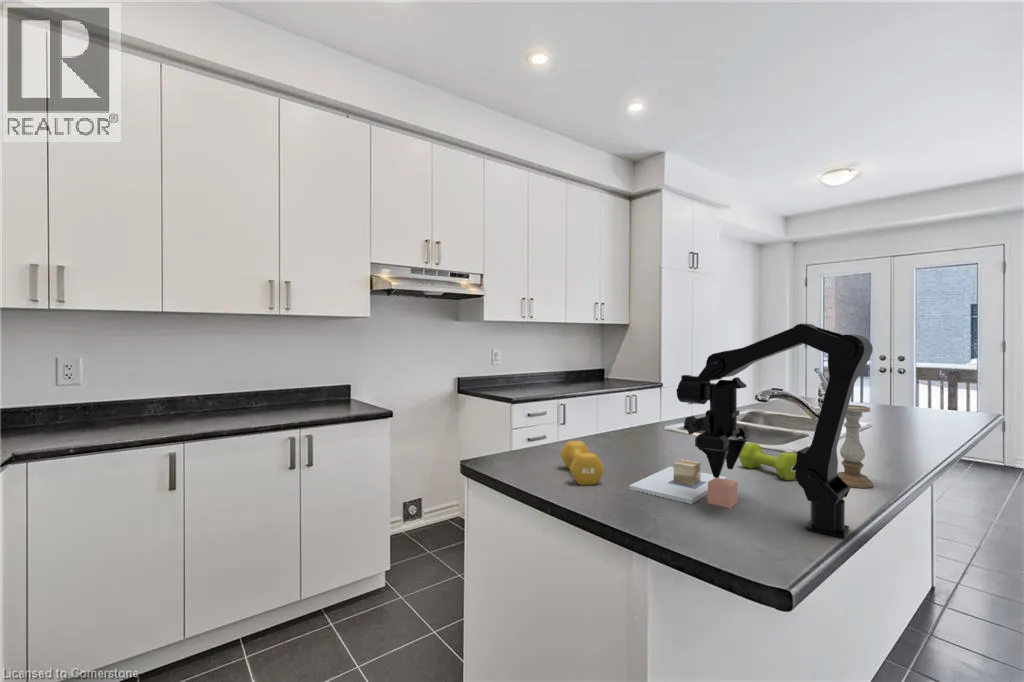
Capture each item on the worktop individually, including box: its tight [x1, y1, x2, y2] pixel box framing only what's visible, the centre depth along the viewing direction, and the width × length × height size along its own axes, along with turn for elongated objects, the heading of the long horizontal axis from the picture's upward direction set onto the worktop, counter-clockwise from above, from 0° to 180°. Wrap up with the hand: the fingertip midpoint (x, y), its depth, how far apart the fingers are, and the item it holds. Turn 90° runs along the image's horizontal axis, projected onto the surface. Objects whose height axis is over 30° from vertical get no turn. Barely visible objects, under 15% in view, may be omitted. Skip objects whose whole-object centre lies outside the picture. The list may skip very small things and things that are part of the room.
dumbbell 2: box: [738, 442, 797, 481], centre depth 136 cm, size 16×8×7 cm, turn 20°
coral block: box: [707, 478, 739, 509], centre depth 112 cm, size 5×5×5 cm
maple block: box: [673, 458, 702, 486], centre depth 123 cm, size 5×5×5 cm
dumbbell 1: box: [559, 440, 605, 486], centre depth 134 cm, size 19×9×8 cm, turn 4°
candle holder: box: [837, 404, 874, 489], centre depth 126 cm, size 9×9×20 cm
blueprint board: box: [628, 466, 728, 505], centre depth 125 cm, size 24×16×1 cm, turn 137°
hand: (723, 473), depth 111 cm, fingers open, 9 cm apart
